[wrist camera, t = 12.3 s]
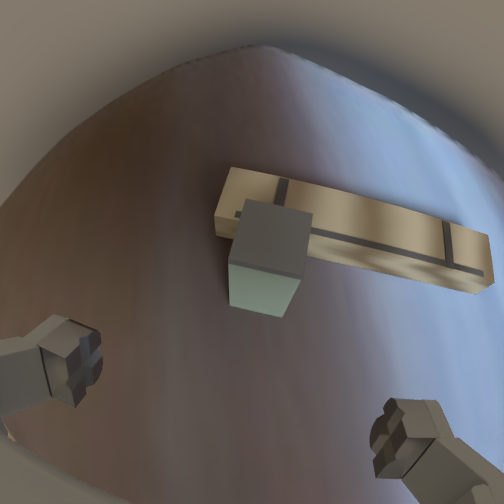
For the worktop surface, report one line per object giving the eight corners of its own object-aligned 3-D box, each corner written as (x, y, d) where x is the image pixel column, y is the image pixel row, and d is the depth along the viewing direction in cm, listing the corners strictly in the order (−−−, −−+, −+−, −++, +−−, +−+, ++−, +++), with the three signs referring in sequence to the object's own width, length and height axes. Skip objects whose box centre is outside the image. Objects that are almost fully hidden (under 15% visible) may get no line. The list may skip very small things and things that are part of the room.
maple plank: (471, 249, 28) (488, 234, 25) (475, 294, 25) (495, 281, 23) (231, 188, 29) (231, 165, 26) (215, 235, 27) (214, 214, 24)
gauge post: (291, 269, 26) (313, 213, 19) (282, 317, 24) (303, 275, 17) (242, 258, 26) (245, 198, 19) (229, 305, 24) (228, 258, 17)
